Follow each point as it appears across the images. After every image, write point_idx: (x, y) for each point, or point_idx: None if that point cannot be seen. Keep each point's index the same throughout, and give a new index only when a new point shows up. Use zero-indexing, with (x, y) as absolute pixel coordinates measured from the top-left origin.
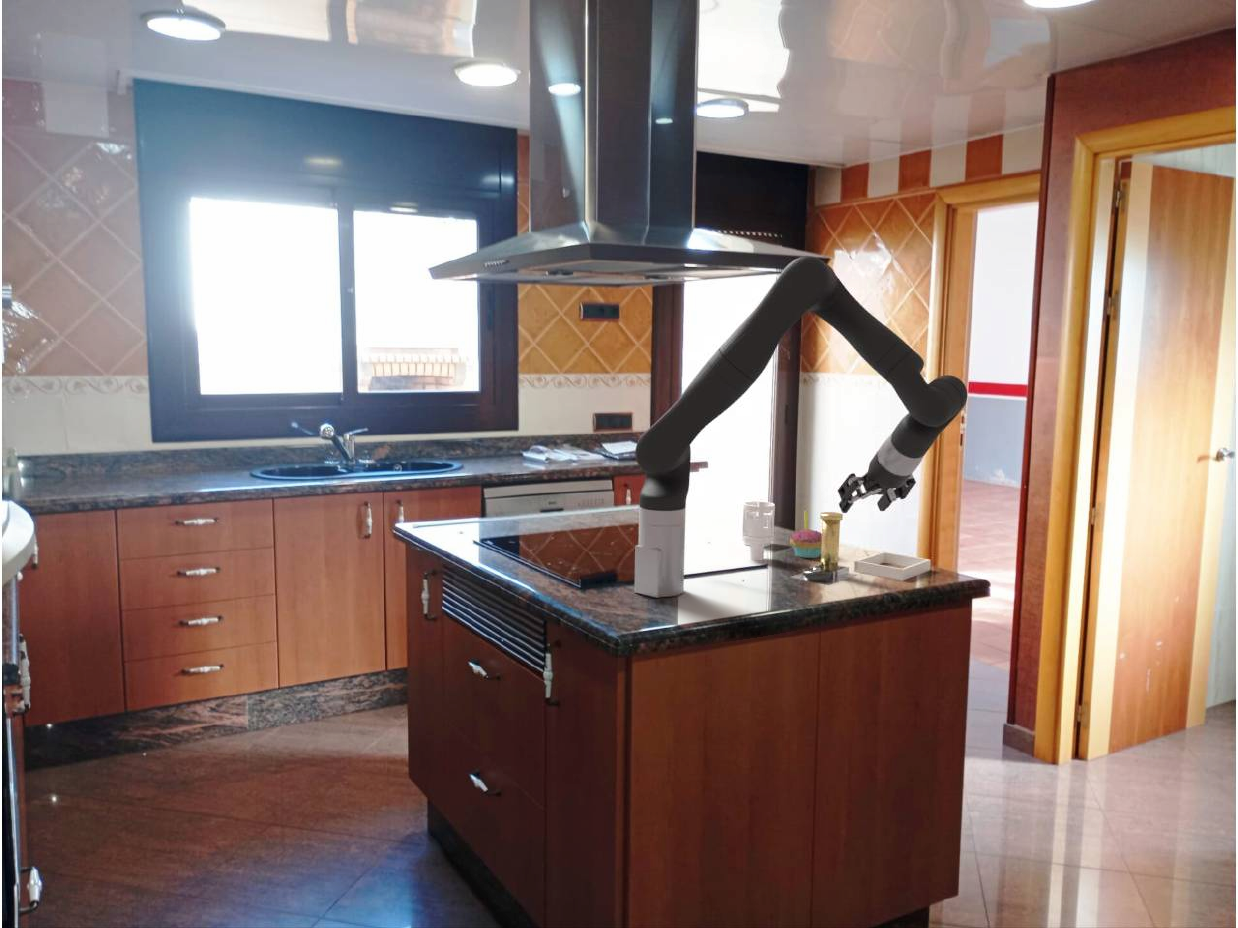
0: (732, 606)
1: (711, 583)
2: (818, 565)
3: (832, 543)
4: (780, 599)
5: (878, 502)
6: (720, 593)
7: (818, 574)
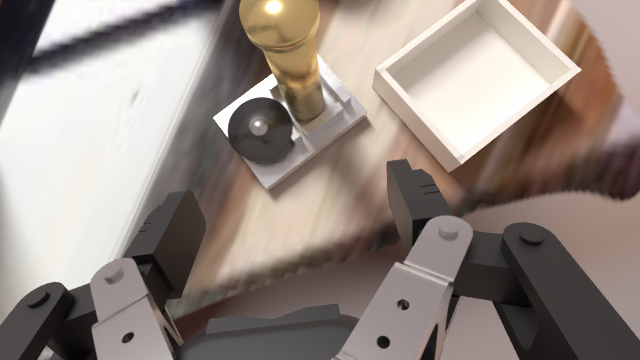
0: (33, 282)
1: (67, 112)
2: None
3: (290, 85)
4: None
5: (389, 170)
6: (52, 186)
7: (249, 158)
